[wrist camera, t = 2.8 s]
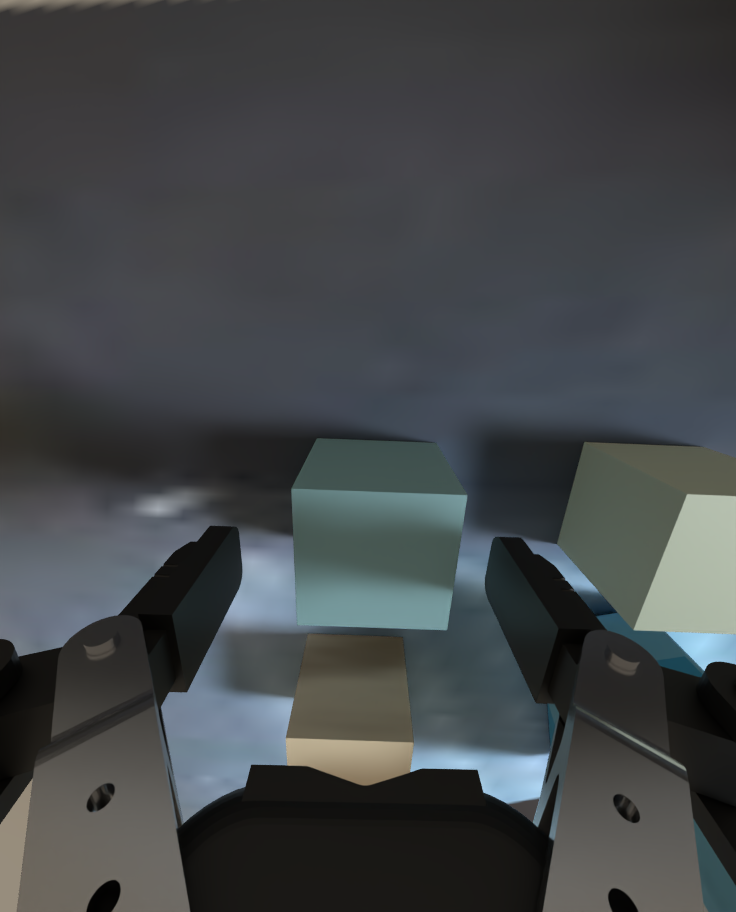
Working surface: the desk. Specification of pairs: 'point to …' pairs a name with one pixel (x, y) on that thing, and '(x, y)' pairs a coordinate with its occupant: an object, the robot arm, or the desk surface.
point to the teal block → (376, 535)
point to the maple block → (352, 709)
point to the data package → (724, 902)
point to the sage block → (657, 534)
